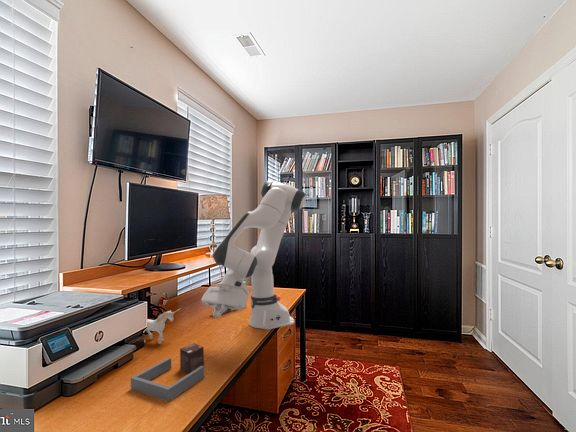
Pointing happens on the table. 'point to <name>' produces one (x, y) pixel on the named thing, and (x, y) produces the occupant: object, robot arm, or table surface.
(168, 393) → the box
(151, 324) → the unicorn figurine
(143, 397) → the table surface
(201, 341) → the table surface
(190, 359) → the box
